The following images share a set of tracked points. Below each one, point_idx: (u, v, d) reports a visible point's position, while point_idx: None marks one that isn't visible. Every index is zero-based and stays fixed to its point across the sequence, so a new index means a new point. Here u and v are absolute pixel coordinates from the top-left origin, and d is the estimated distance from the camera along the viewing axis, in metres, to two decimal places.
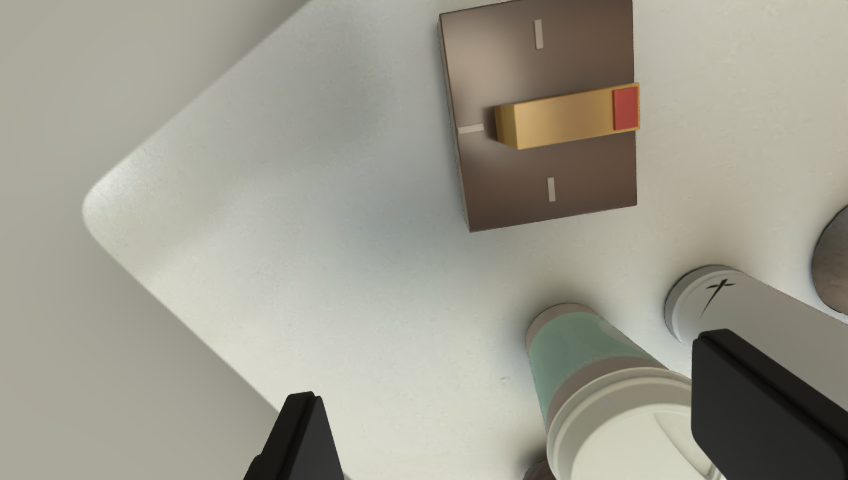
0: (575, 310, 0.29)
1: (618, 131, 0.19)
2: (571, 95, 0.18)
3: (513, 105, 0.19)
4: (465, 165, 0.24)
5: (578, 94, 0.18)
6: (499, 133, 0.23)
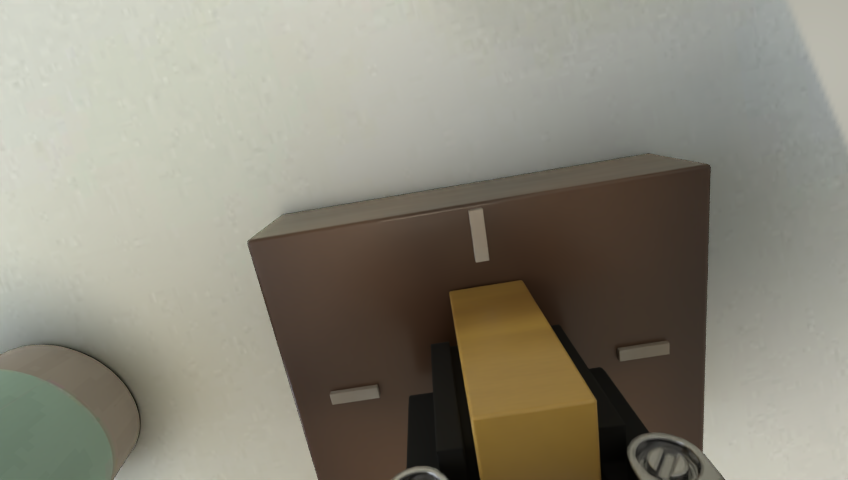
0: (114, 439, 0.14)
1: None
2: None
3: (592, 399, 0.07)
4: (399, 226, 0.11)
5: None
6: (472, 301, 0.11)
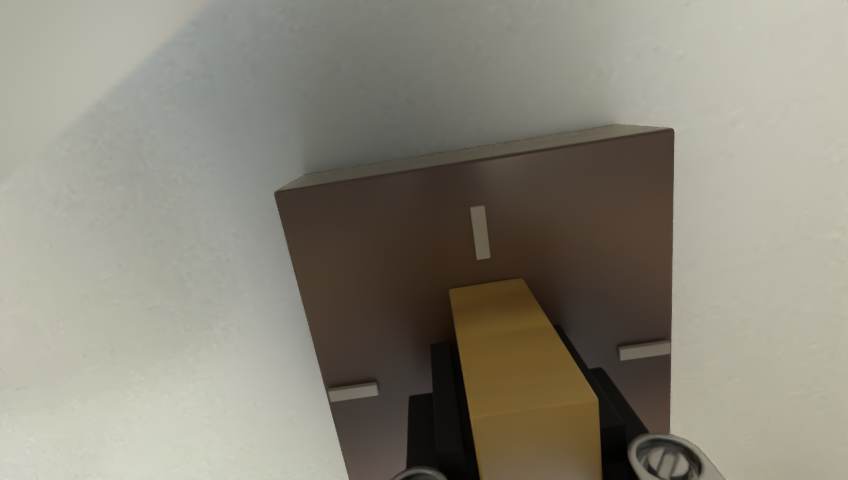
0: None
1: None
2: None
3: (594, 397, 0.07)
4: (349, 447, 0.13)
5: None
6: (472, 299, 0.10)
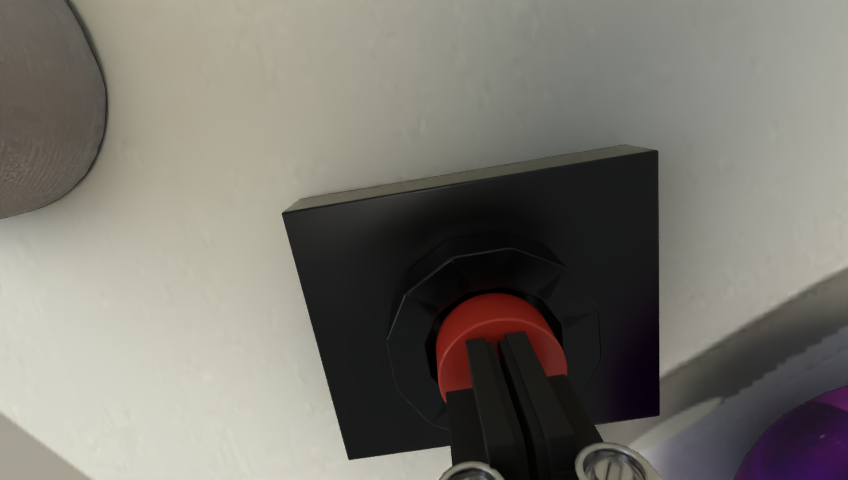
0: None
1: None
2: None
3: None
4: None
5: None
6: None
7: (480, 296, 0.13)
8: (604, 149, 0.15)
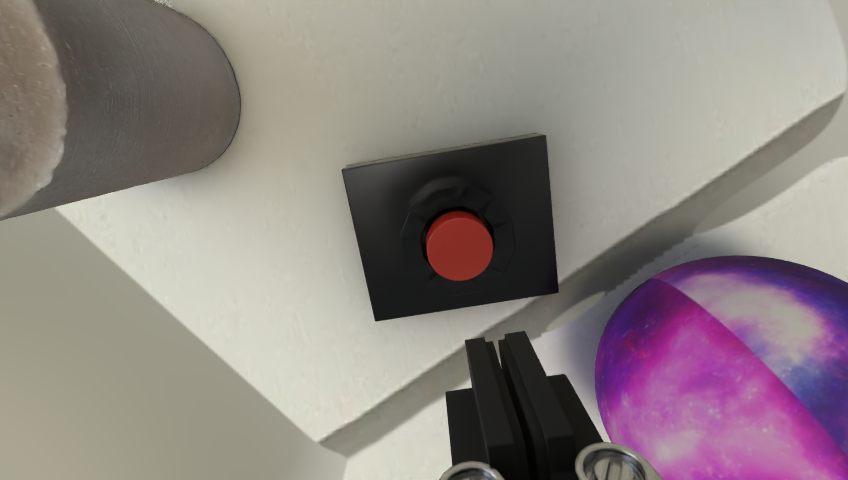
0: None
1: None
2: None
3: None
4: None
5: None
6: None
7: (449, 212, 0.24)
8: (522, 135, 0.26)
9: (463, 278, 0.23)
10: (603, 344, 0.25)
